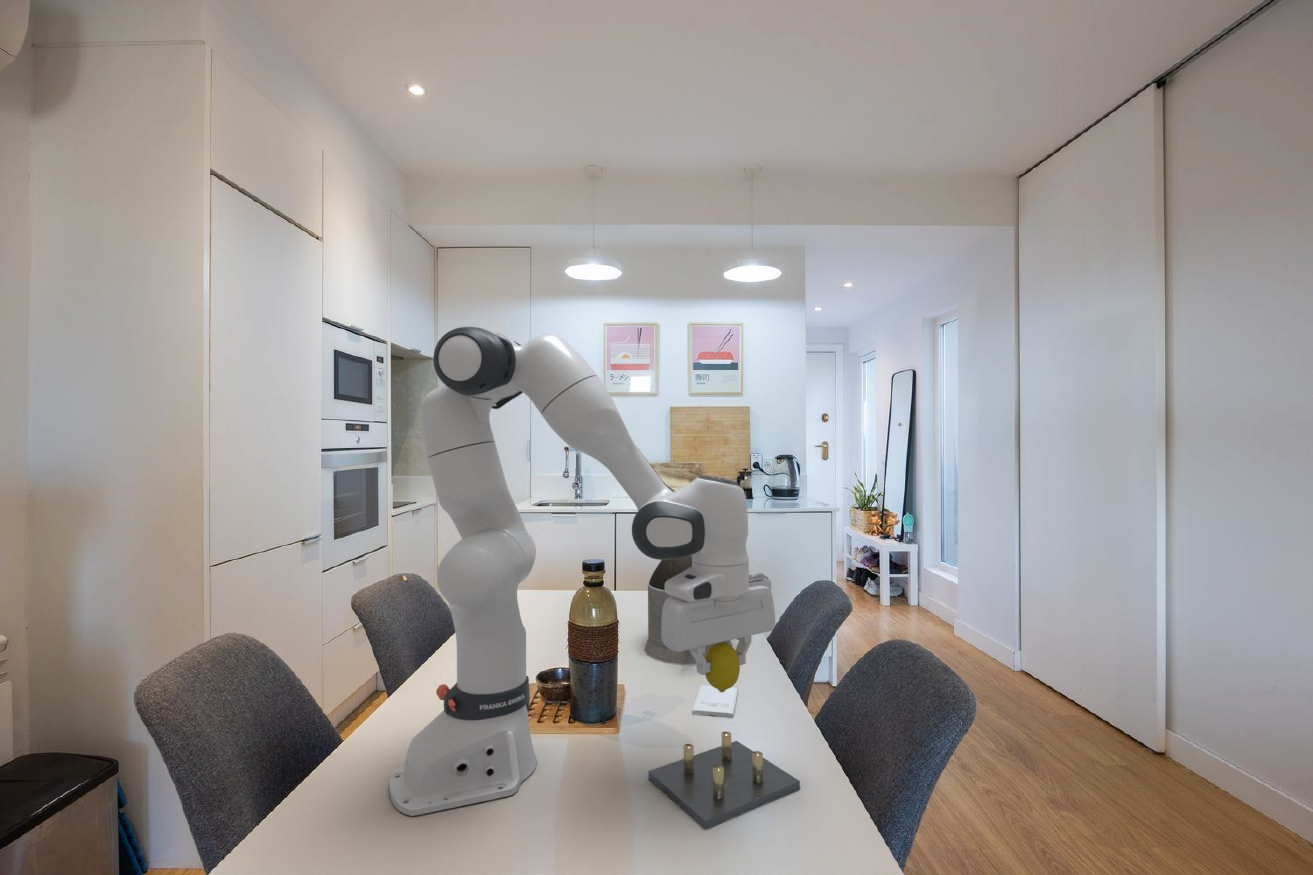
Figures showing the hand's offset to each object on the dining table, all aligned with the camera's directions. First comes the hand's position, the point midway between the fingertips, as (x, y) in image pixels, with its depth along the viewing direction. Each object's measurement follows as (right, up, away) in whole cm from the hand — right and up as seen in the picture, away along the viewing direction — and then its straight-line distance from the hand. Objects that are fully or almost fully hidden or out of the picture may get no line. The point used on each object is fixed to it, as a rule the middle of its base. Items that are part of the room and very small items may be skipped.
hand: (721, 668), depth 92 cm
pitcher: (-2, -19, +58) cm, 61 cm away
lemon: (0, -4, 0) cm, 4 cm away
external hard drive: (+2, -19, +29) cm, 35 cm away
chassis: (0, -18, 0) cm, 18 cm away
